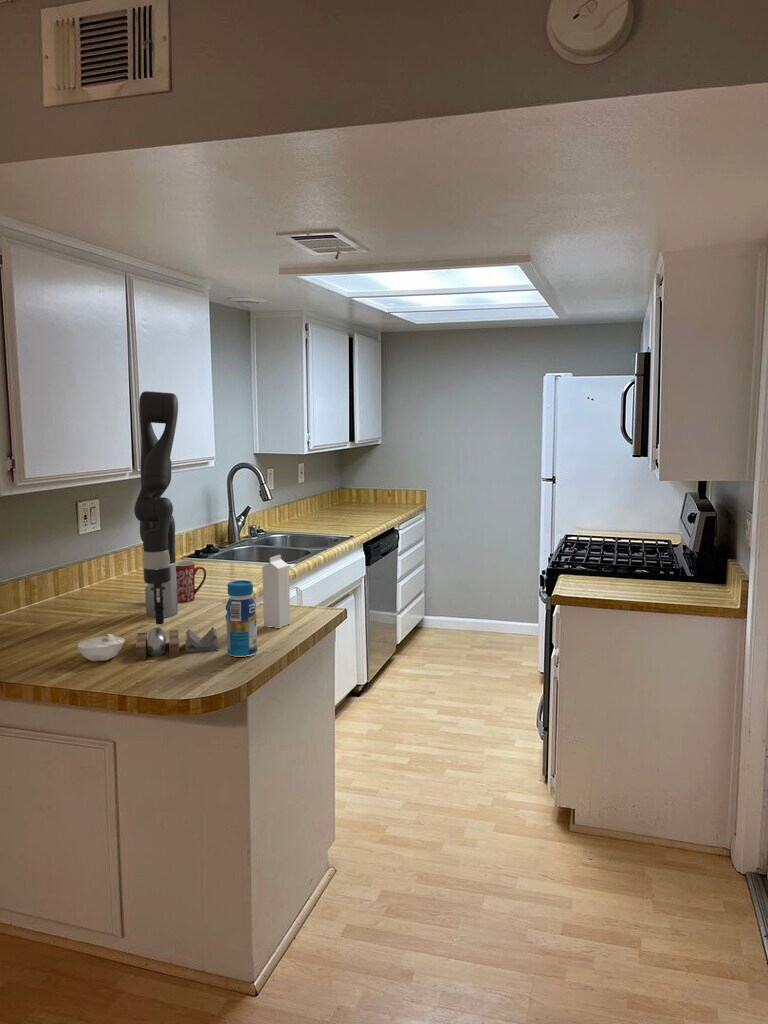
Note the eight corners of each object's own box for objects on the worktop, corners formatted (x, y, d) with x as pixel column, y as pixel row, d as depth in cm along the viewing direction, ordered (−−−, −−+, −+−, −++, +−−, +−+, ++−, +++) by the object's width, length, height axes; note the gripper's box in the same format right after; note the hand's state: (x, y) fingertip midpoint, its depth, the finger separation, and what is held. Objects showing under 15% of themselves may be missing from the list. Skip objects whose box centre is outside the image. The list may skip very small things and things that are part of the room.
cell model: (77, 656, 209) (76, 632, 208) (123, 650, 213) (122, 627, 212) (79, 668, 199) (77, 643, 198) (127, 661, 204) (125, 637, 203)
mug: (169, 604, 265) (167, 566, 263) (171, 598, 273) (170, 561, 272) (206, 602, 267) (205, 564, 265) (207, 596, 276) (206, 559, 274)
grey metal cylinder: (150, 645, 219) (146, 630, 219) (167, 641, 221) (163, 626, 220) (149, 658, 208) (145, 642, 207) (166, 654, 209) (163, 638, 208)
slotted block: (138, 645, 219) (137, 633, 218) (178, 641, 221) (178, 629, 221) (136, 660, 205) (135, 647, 205) (179, 656, 208) (178, 644, 208)
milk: (263, 626, 236) (261, 557, 233) (274, 621, 241) (272, 553, 238) (280, 629, 233) (277, 558, 230) (291, 624, 239) (288, 554, 236)
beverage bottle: (221, 653, 211) (219, 582, 208) (249, 647, 216) (246, 577, 213) (235, 660, 204) (232, 587, 201) (263, 654, 209) (261, 583, 206)
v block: (185, 643, 220) (184, 628, 219) (217, 640, 222) (216, 626, 221) (186, 652, 211) (185, 637, 210) (219, 650, 213) (218, 634, 213)
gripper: (143, 562, 227) (147, 619, 229) (142, 570, 214) (146, 630, 216) (170, 561, 229) (172, 617, 231) (170, 568, 217) (173, 628, 219)
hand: (159, 623), depth 224 cm, fingers closed
